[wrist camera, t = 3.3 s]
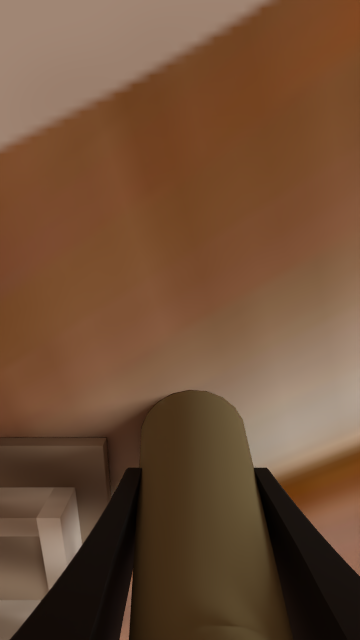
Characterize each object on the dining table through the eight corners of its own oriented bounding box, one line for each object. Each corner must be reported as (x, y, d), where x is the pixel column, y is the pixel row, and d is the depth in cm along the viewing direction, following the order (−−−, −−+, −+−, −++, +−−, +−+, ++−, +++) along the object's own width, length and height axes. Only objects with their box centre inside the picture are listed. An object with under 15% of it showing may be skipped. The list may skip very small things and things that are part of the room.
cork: (146, 483, 13) (4, 1404, 2) (134, 394, 12) (-268, 1487, 1) (246, 477, 13) (547, 1399, 2) (244, 386, 12) (876, 1480, 1)
